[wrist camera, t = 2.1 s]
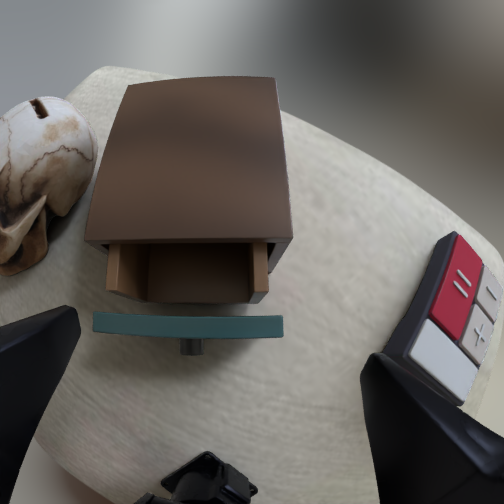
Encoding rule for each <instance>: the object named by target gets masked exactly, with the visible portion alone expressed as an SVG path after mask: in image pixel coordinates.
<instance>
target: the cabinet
mask: <svg viewBox="0 0 504 504" xmlns="http://www.w3.org/2000/svg"><path fill="white" fill-rule="evenodd" d="M292 239H293V229H292V217H291V205H290V194H289V184H288V174H287V164H286V155H285V146H284V137H283V129H282V121H281V113H280V105H279V98H278V91H277V84H276V78H272V77H271V78H270V77H248V76H217V77H195V78H181V79H170V80H161V81H153V82H146V83H139V84H133V85H128V87H127V89H126V92H125V94H124V97H123V99H122V102H121V104H120V107H119V109H118V112H117V115H116V117H115V120H114V123H113V126H112V128H111V131H110V134H109V137H108V140H107V144H106V147H105V150H104V153H103V157H102V160H101V164H100V167H99V171H98V175H97V179H96V183H95V187H94V191H93V195H92V200H91V205H90V209H89V214H88V220H87V225H86V231H85V237H84V241H85V242H87V243H88V244H90V245H91V246H93V247H94V248H96V249H97V250H99V251H100V252H102V253H103V254H105V255H106V256H108V253H109V245H110V244H147V243H255V242H267V260H268V273H271V272H272V271H273V269H274V268H275V266H276V264H277V263H278V261H279V260H280V258H281V256H282V255H283V253H284V252H285V250H286V248H287V247H288V245H289V244H290V242H291V240H292Z"/></svg>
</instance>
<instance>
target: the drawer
mask: <svg viewBox="0 0 504 504" xmlns="http://www.w3.org/2000/svg"><path fill="white" fill-rule="evenodd" d="M105 290H106V291H109V292H112V293H115V294H117V295H120V296H123V297H126V298H129V299H132V300H135V301H138V302H141V303H167V304H258V303H259V302H260V301H261V300H262V299H263V297H264V296H265V295H266V294H267V293H268V292H269V286H268V260H267V242H255V243H147V244H110V245H109V253H108V263H107V274H106V287H105ZM93 331H94V332H100V333H110V334H120V335H132V336H146V337H163V338H179V345H180V354H181V355H191V356H196V355H203V354H204V339H254V338H280V337H283V336H284V335H283V316H282V315H276V316H232V317H204V316H160V315H138V314H121V313H107V312H93Z"/></svg>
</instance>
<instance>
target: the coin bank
mask: <svg viewBox="0 0 504 504" xmlns="http://www.w3.org/2000/svg"><path fill="white" fill-rule="evenodd" d="M97 153H98V143H97V138H96V137H95V134H94V131H93V130H92V127H91V126H90V124H89V122H88V121H87V119H86V118H85V117H84V115H83V114H82V113H81V112H80V111H79V110H78V109H77V108H76V107H75V106H74V105H73V104H71V103H69V102H67V101H65V100H62V99H59V98H55V97H39V98H36V99H33V100H29V101H26V102H23V103H21V104H19V105H17V106H16V107H14V108H12V109H11V110H10V111H8V112H7V113H6V114H5V115H3V116H2V117H1V118H0V274H1V275H3V276H9V275H13V274H16V273H18V272H19V271H21V270H25V269H28V268H29V267H30V266H31V265H33V264H35V263H37V262H38V261H40V260H41V259H42V258H44V257H45V255H46V254H47V251H48V246H49V245H48V242H47V237H46V231H47V228H48V225H49V223H50V221H51V219H52V218H53V217H54V216H56V215H58V216H62V217H63V216H65V215H66V214H67V213H68V212H69V210H70V208H71V206H72V205H73V204H74V203H76V202H77V201H78V200H79V199H80V198H81V197H82V195H83V194H84V192H85V191H86V189H87V187H88V185H89V183H90V182H91V179H92V177H93V173H94V168H95V164H96V160H97Z"/></svg>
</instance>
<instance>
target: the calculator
mask: <svg viewBox="0 0 504 504" xmlns="http://www.w3.org/2000/svg"><path fill="white" fill-rule="evenodd" d="M502 294H503V287H502V286H501V284H500V283H499V282H498V280H497V279H496V278H495V276H494V275H493V274H492V272H491V271H490V270H489V268H488V267H487V266H486V265H484V264H483V262H482V260H481V258H480V257H479V256H478V255H477V253H476V252H475V251H474V250H473V249H472V247H471V246H470V245H469V244H468V243H467V242H466V241H465V239H464V238H463V237H462V236H461V235H459V234H458V233H457V232H455V231H453V232H451V233H449V234H448V235H446V236H444V237H443V238H441V239H440V240H438V242H437V244H436V247H435V250H434V253H433V255H432V258H431V260H430V263H429V266H428V268H427V270H426V273H425V275H424V278H423V280H422V282H421V285H420V287H419V289H418V291H417V294H416V296H415V298H414V300H413V302H412V304H411V306H410V308H409V310H408V312H407V314H406V316H405V317H404V318H403V319H402V320H401V322H400V323H399V324H398V326H397V328H396V330H395V331H394V333H393V335H392V337H391V339H390V340H389V342H388V344H387V346H386V347H385V349H384V351H383V353H384V354H385V355H387V356H388V357H390V358H391V359H392V360H394V361H395V362H396V363H398V364H399V365H400V366H402V367H403V368H405V369H406V370H407V371H409V372H410V373H411V374H413V375H414V376H415V377H417V378H418V379H420V380H421V381H422V382H424V383H425V384H426V385H428V386H429V387H430V388H432V389H433V390H435V391H436V392H437V393H439V394H440V395H441V396H443V397H444V398H446V399H447V400H448V401H450V402H451V403H452V404H454V405H455V406H462V405H463V404H464V402H465V400H466V398H467V395H468V393H469V391H470V389H471V387H472V384H473V382H474V380H475V377H476V375H477V372H478V370H479V367H480V365H481V364H482V363H483V360H484V357H485V354H486V352H487V349H488V346H489V343H490V340H491V336H492V333H493V330H494V322H495V321H496V319H497V315H498V311H499V307H500V303H501V298H502Z"/></svg>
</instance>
